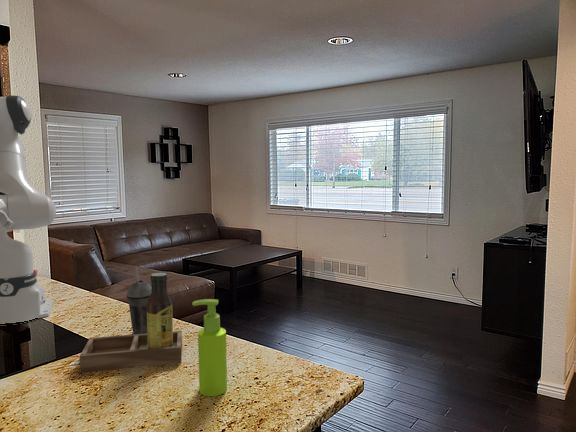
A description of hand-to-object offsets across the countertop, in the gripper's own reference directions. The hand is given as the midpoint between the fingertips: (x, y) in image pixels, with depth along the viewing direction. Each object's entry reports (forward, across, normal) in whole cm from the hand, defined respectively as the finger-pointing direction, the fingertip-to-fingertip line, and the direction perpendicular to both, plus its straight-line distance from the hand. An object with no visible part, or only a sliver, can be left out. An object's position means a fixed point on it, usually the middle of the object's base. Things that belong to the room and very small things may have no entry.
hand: (3, 229), depth 105 cm
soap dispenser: (+57, -24, -10) cm, 62 cm away
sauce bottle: (+48, -4, -2) cm, 48 cm away
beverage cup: (+44, +12, +3) cm, 46 cm away
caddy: (+44, -4, +3) cm, 44 cm away
